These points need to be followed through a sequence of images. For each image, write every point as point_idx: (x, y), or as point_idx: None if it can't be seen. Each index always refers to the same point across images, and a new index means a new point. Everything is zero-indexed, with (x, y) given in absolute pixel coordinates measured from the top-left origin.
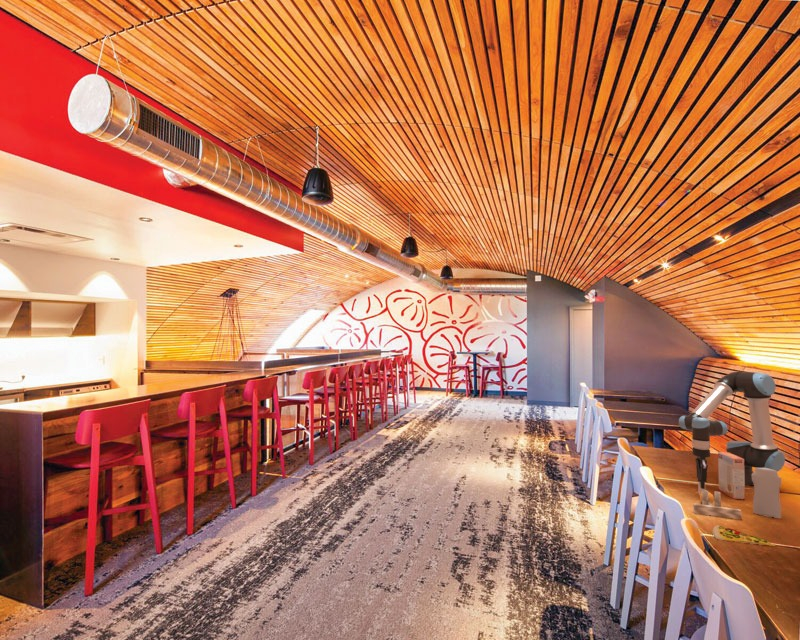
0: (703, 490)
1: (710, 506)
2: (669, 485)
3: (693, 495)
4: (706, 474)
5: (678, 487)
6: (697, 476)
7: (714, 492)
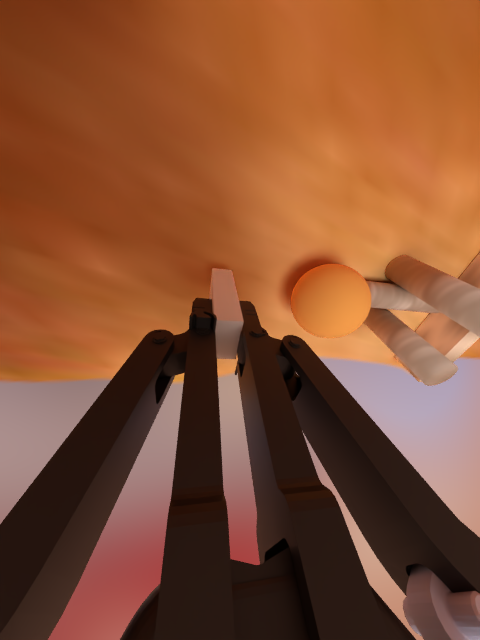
0: (435, 381)
1: (471, 340)
2: (54, 365)
3: (188, 304)
4: (363, 416)
5: (62, 336)
6: (167, 379)
7: (476, 333)
